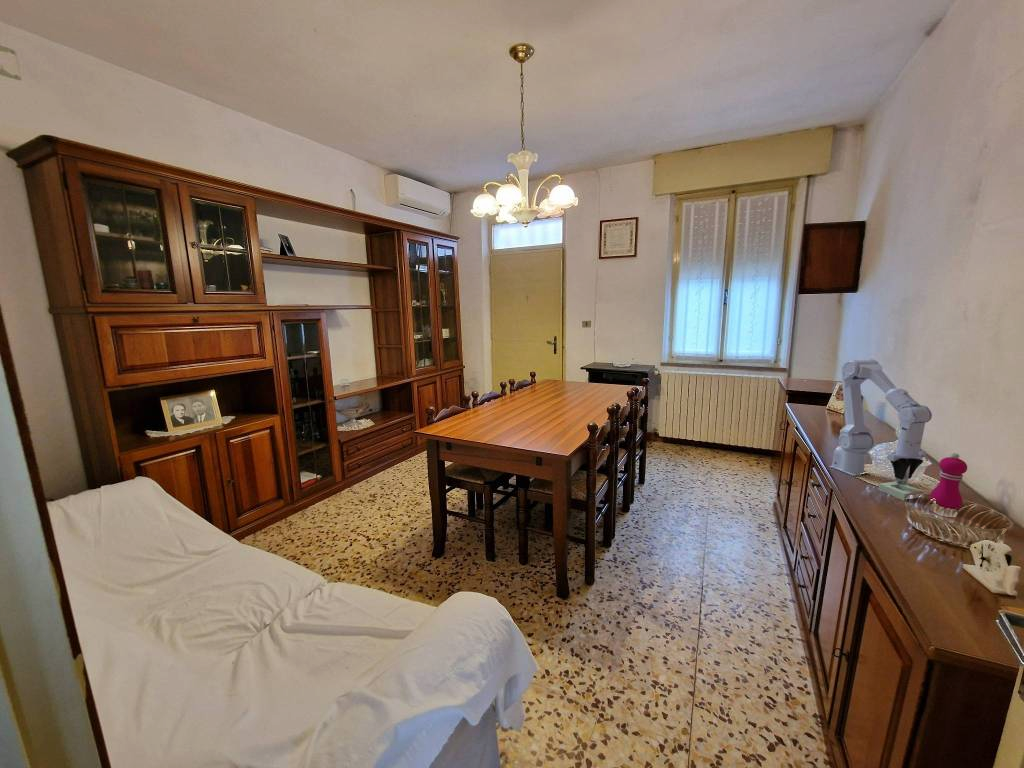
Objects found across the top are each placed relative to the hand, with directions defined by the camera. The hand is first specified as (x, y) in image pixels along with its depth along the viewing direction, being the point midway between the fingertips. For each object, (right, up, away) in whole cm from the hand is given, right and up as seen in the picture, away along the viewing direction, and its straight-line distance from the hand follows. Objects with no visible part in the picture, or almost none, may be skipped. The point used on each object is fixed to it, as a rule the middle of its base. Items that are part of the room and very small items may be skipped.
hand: (902, 478), depth 143 cm
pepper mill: (+2, -9, -11) cm, 14 cm away
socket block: (0, -6, +1) cm, 6 cm away
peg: (0, -2, 0) cm, 2 cm away
